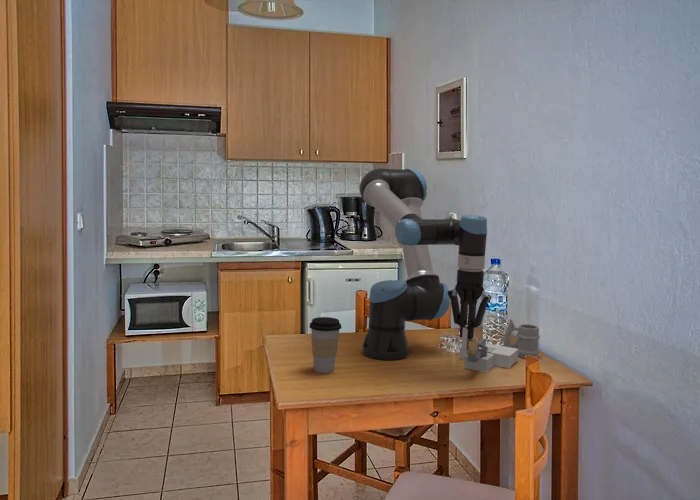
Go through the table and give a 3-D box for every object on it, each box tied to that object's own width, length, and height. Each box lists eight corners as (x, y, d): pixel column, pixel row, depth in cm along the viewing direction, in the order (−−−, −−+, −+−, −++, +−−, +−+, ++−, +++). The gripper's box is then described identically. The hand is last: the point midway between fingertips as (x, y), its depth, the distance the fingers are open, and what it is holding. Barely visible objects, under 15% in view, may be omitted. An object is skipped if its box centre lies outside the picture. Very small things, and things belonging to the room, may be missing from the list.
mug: (541, 359, 204) (544, 323, 203) (504, 357, 205) (506, 321, 203) (535, 352, 212) (538, 317, 210) (500, 351, 213) (502, 316, 211)
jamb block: (464, 368, 193) (465, 344, 192) (471, 362, 199) (473, 339, 198) (486, 372, 189) (488, 348, 188) (493, 366, 195) (495, 342, 194)
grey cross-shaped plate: (459, 359, 202) (460, 340, 201) (469, 352, 210) (470, 334, 209) (509, 368, 194) (510, 349, 193) (517, 361, 202) (518, 342, 201)
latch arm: (474, 351, 196) (475, 329, 195) (488, 353, 194) (490, 331, 194) (462, 362, 184) (464, 340, 183) (477, 365, 182) (479, 342, 181)
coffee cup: (316, 377, 180) (317, 325, 178) (302, 367, 188) (304, 317, 186) (345, 373, 184) (347, 322, 182) (331, 363, 193) (333, 315, 191)
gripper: (444, 268, 182) (439, 347, 186) (486, 273, 175) (481, 356, 178) (455, 265, 189) (451, 342, 192) (497, 270, 181) (491, 350, 184)
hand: (465, 349), depth 185 cm, fingers closed
